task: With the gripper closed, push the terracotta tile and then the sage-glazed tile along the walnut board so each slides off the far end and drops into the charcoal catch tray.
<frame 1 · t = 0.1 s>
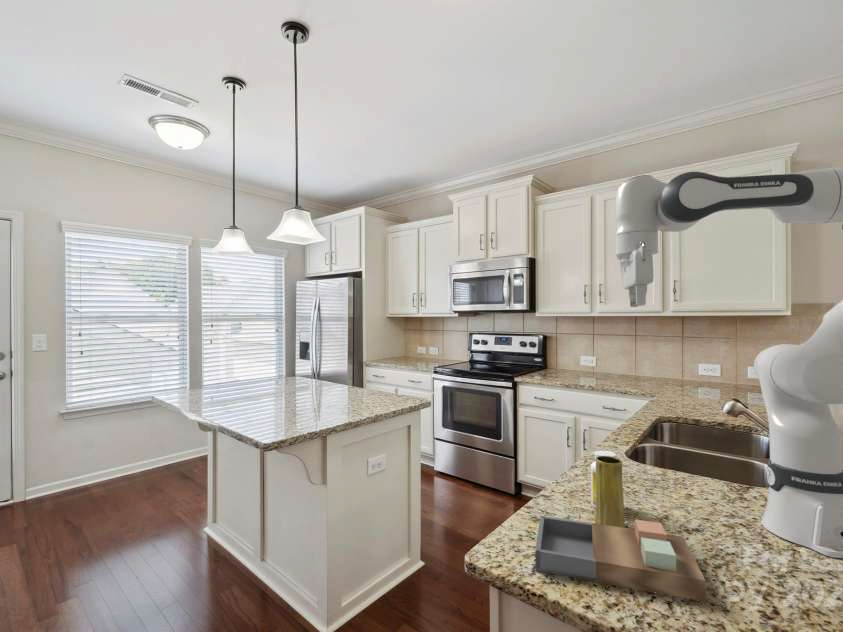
hand: (637, 306, 96), 48 cm above the countertop, fingers open, 8 cm apart
supplement bottle: (606, 508, 98), on the countertop
tile terracotta: (650, 540, 77), point 3 cm above the countertop, touching board
board: (641, 567, 74), on the countertop
tile sage: (657, 560, 70), point 3 cm above the countertop, touching board
tray: (565, 554, 79), on the countertop
vase: (609, 526, 90), on the countertop
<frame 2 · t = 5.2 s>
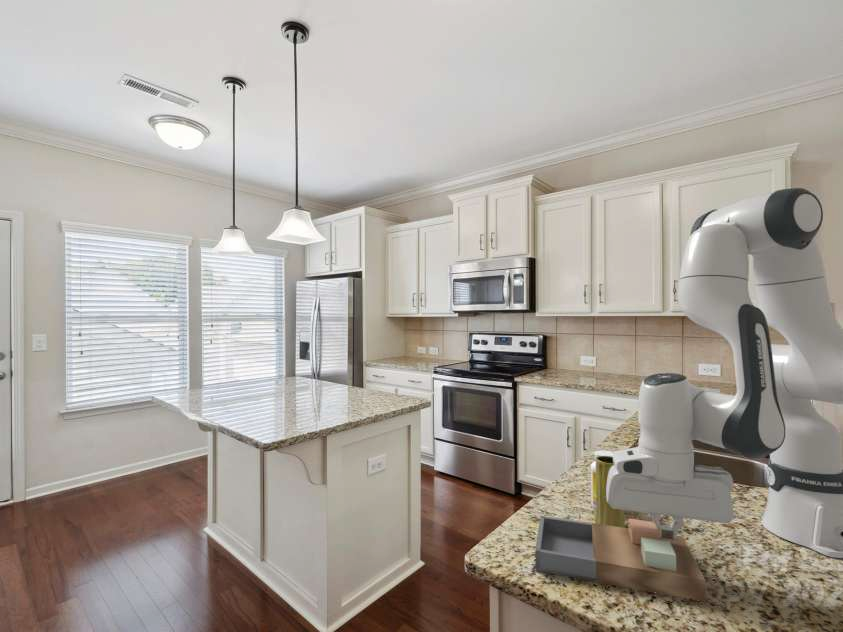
hand: (666, 537, 76), 5 cm above the countertop, fingers closed
tile terracotta: (643, 539, 77), point 4 cm above the countertop, touching gripper
everything else where it was.
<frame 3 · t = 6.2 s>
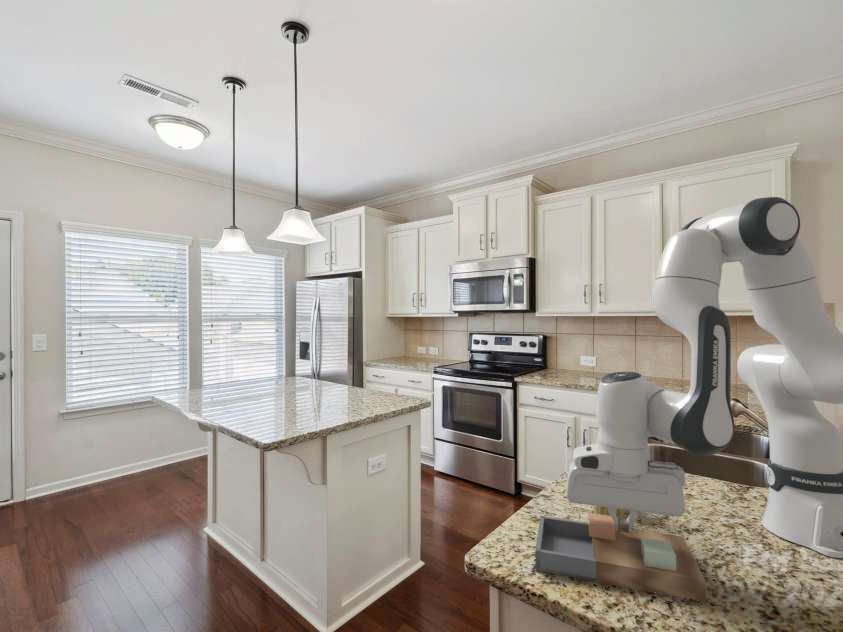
hand: (622, 530, 78), 5 cm above the countertop, fingers closed
tile terracotta: (601, 532, 80), point 4 cm above the countertop, touching gripper
everything else where it was.
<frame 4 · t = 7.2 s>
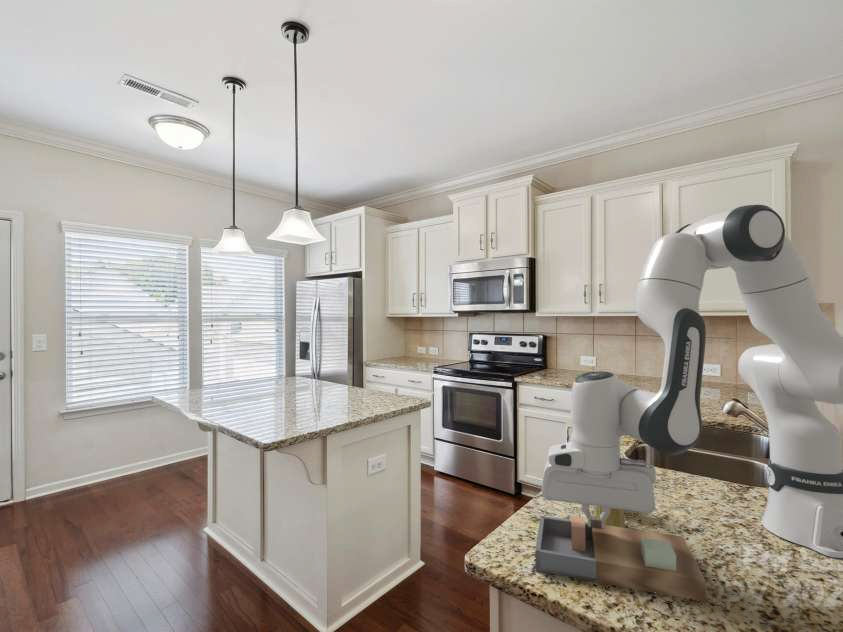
hand: (595, 527, 80), 4 cm above the countertop, fingers closed
tile terracotta: (584, 534, 81), point 3 cm above the countertop, tilted 90°, touching tray
everything else where it was.
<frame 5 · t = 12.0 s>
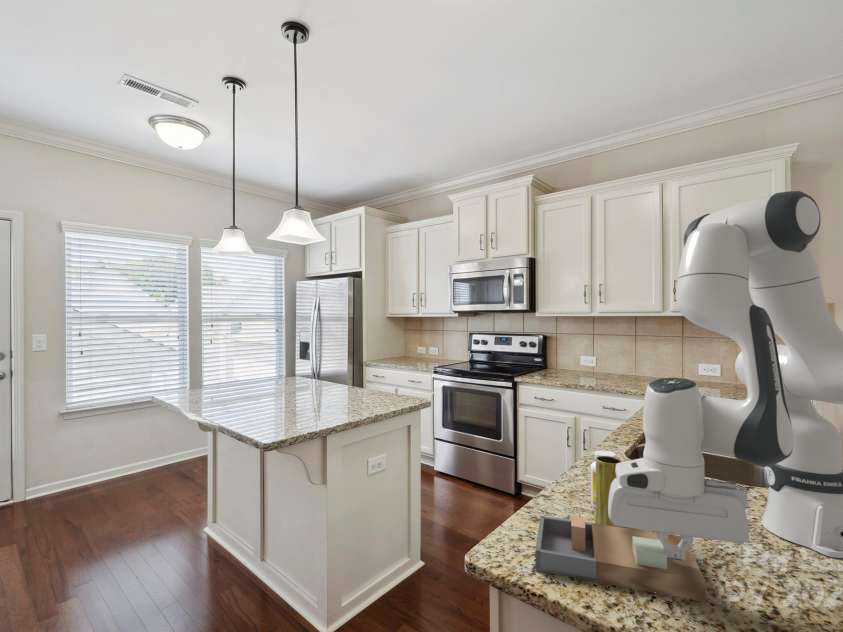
hand: (674, 558, 69), 5 cm above the countertop, fingers closed
tile sage: (649, 559, 71), point 3 cm above the countertop, touching board, gripper
everything else where it was.
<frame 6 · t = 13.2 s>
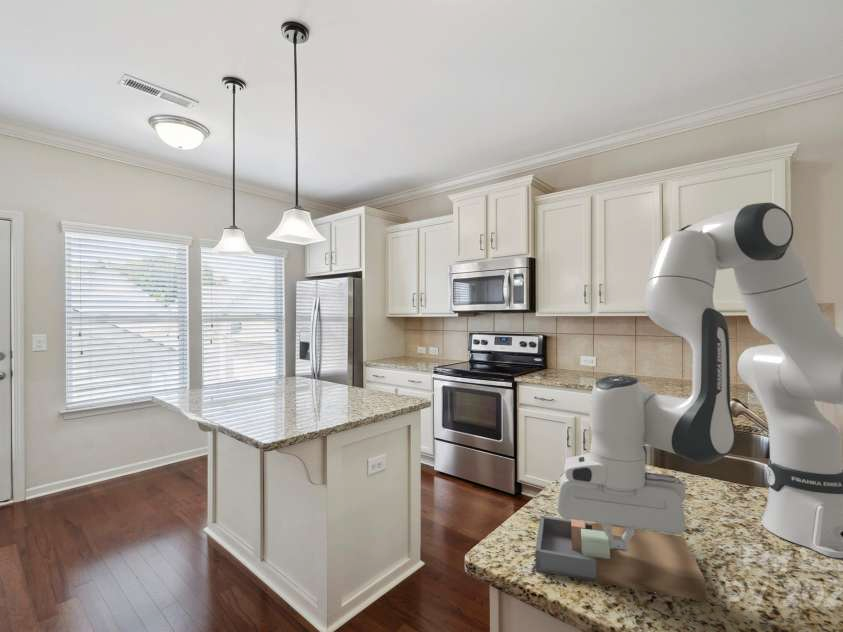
hand: (618, 548, 72), 5 cm above the countertop, fingers closed
tile sage: (595, 550, 74), point 3 cm above the countertop, touching board, gripper
everything else where it was.
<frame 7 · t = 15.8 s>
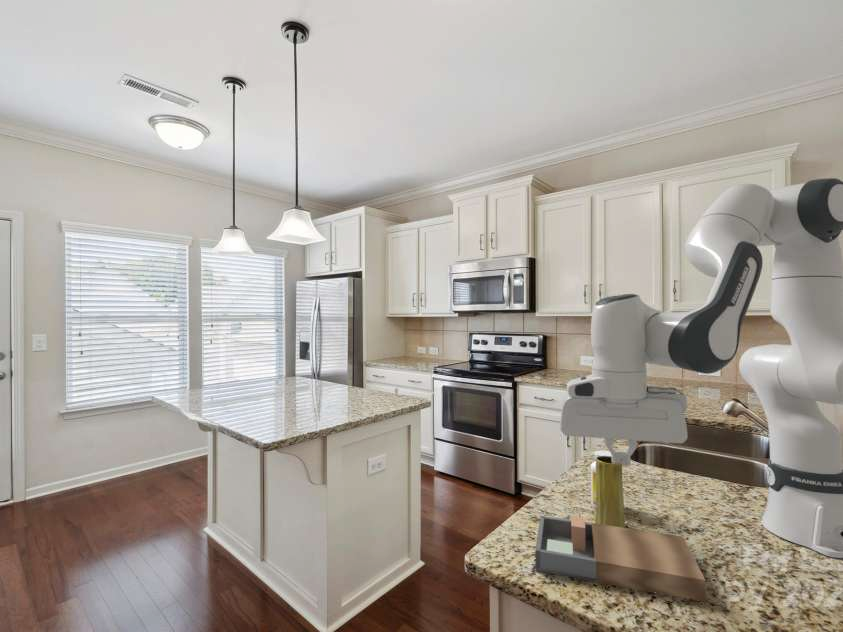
hand: (620, 463, 73), 19 cm above the countertop, fingers closed
tile sage: (559, 547, 76), point 3 cm above the countertop, tilted 180°, touching tray
everything else where it was.
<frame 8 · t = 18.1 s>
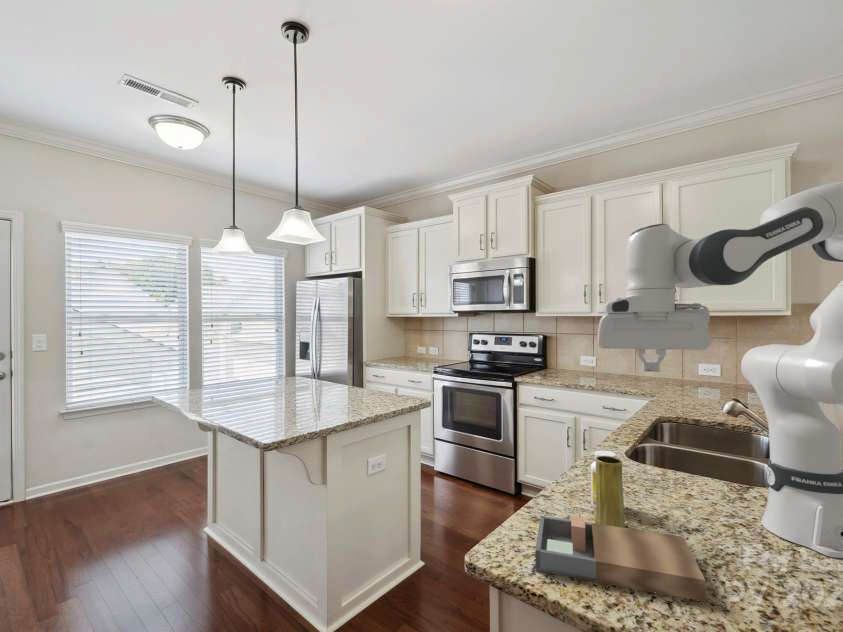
hand: (651, 371, 85), 34 cm above the countertop, fingers closed
nothing on the countertop moved.
at the end: tile terracotta inside the target area on the tray (4.8 cm from its centre), point 2.7 cm above the tray's base; tile sage inside the target area on the tray (3.7 cm from its centre), point 3.0 cm above the tray's base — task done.
